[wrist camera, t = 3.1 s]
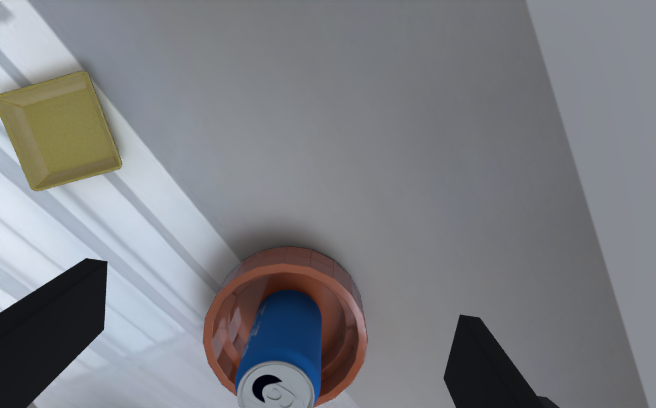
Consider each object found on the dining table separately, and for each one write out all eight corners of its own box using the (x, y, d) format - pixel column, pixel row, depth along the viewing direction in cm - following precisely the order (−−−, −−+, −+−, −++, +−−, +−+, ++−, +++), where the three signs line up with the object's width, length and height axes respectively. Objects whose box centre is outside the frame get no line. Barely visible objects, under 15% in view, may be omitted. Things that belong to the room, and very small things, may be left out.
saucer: (8, 96, 38) (-11, 96, 36) (99, 70, 37) (85, 68, 35) (47, 188, 40) (32, 193, 38) (134, 165, 39) (123, 168, 37)
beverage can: (282, 273, 41) (264, 340, 29) (334, 310, 42) (338, 388, 30) (244, 322, 42) (213, 404, 31) (296, 356, 43) (285, 449, 32)
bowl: (374, 257, 41) (380, 277, 36) (349, 386, 44) (352, 420, 40) (225, 235, 41) (211, 252, 36) (211, 367, 44) (196, 400, 39)
